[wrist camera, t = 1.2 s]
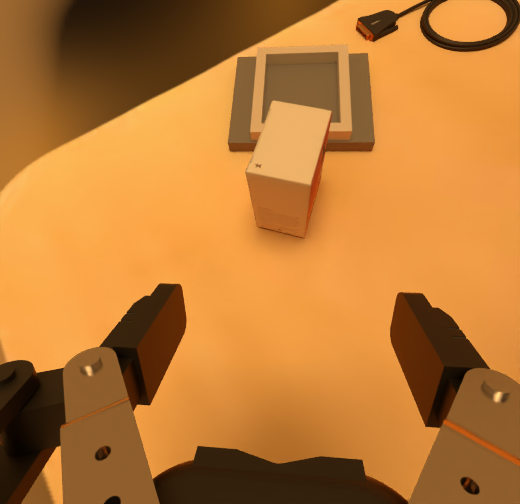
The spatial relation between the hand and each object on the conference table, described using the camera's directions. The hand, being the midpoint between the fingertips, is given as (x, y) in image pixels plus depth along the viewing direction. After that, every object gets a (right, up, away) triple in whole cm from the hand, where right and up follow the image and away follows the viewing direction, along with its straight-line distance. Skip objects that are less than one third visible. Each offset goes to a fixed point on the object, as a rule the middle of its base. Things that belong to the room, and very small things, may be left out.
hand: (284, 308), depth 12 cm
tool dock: (+4, +21, +29) cm, 36 cm away
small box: (+2, +8, +24) cm, 26 cm away
